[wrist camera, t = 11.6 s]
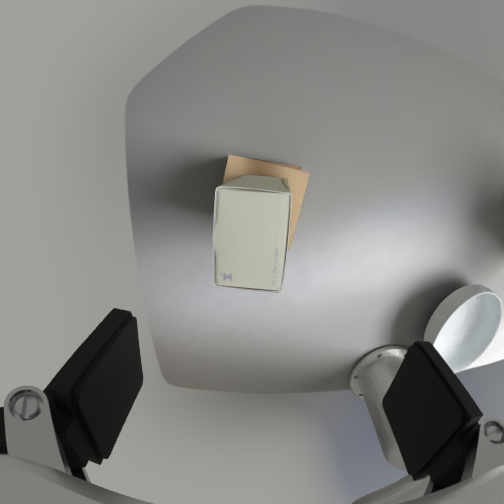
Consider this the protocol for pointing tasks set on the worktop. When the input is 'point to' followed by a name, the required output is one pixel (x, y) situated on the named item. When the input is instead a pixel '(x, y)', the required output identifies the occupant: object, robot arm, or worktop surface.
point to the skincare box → (251, 233)
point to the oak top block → (254, 167)
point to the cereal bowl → (464, 325)
